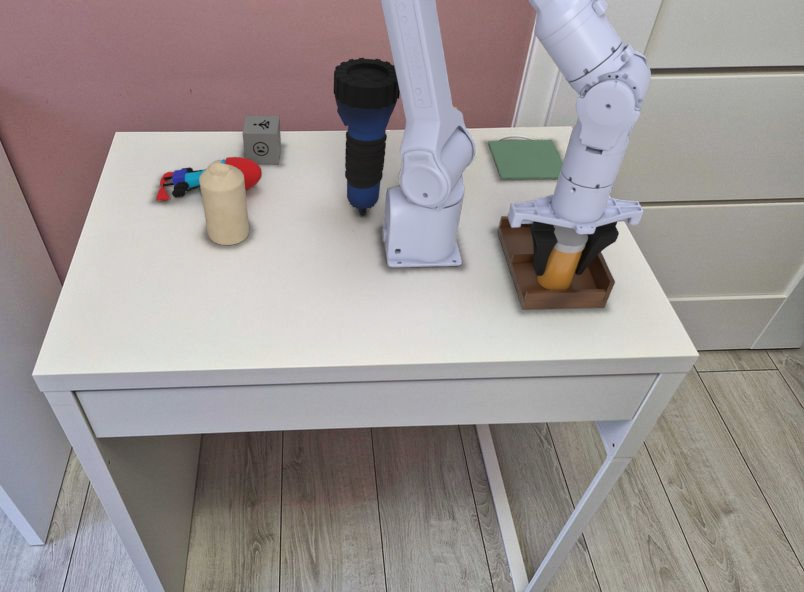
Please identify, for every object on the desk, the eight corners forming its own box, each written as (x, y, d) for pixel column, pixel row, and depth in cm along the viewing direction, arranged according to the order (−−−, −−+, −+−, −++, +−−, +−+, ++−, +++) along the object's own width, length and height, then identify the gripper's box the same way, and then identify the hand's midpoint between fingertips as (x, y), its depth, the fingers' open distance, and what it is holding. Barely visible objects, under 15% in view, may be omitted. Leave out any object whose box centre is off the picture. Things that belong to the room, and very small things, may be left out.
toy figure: (159, 213, 97) (263, 200, 95) (147, 182, 94) (254, 168, 92) (169, 186, 103) (268, 172, 101) (158, 156, 100) (260, 141, 98)
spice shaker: (540, 292, 83) (554, 247, 78) (531, 268, 86) (545, 222, 81) (576, 291, 84) (593, 246, 78) (566, 267, 87) (582, 222, 81)
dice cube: (278, 164, 103) (277, 134, 100) (245, 163, 103) (242, 133, 100) (281, 146, 107) (279, 116, 103) (248, 145, 107) (245, 115, 103)
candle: (256, 225, 93) (250, 160, 86) (239, 249, 90) (231, 184, 83) (219, 216, 95) (209, 151, 87) (200, 240, 91) (189, 175, 84)
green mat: (501, 179, 101) (501, 177, 101) (488, 143, 108) (488, 140, 108) (568, 178, 102) (569, 176, 101) (551, 142, 108) (551, 139, 108)
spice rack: (522, 309, 83) (530, 284, 80) (497, 231, 93) (503, 205, 90) (604, 307, 83) (615, 281, 80) (570, 230, 94) (579, 204, 90)
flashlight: (369, 188, 99) (377, 50, 85) (401, 218, 95) (415, 77, 80) (321, 205, 97) (321, 65, 82) (352, 236, 92) (357, 94, 77)
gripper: (529, 196, 71) (504, 293, 81) (668, 193, 71) (626, 290, 81) (514, 158, 75) (492, 254, 86) (645, 156, 76) (608, 252, 86)
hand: (556, 269), depth 84 cm, fingers closed on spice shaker, 4 cm apart
